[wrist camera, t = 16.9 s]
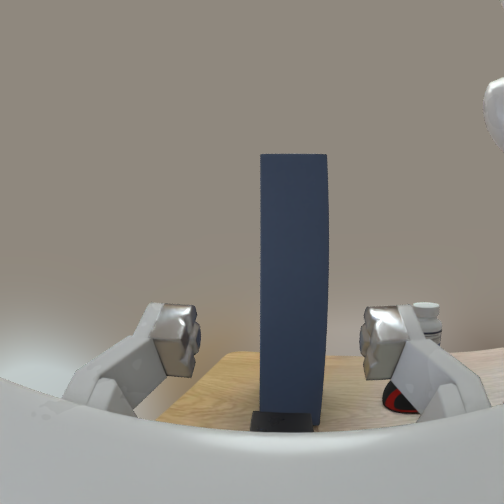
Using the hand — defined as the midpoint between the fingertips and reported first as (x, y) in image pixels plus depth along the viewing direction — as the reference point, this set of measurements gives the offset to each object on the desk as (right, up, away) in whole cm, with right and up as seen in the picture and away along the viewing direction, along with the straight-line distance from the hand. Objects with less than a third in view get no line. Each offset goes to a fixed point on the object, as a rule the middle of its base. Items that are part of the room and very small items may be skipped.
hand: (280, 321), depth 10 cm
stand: (+3, -15, +24) cm, 28 cm away
